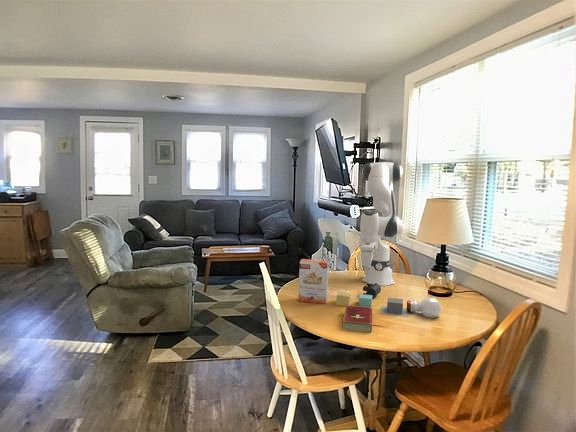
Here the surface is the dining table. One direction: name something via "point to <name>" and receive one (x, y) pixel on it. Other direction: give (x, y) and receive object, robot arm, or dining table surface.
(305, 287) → the cracker box
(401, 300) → the base brick
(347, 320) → the hardcover book
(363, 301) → the teal brick
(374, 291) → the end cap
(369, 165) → the robot arm
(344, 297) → the ochre brick
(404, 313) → the build plate
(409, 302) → the potion bottle
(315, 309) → the dining table surface
